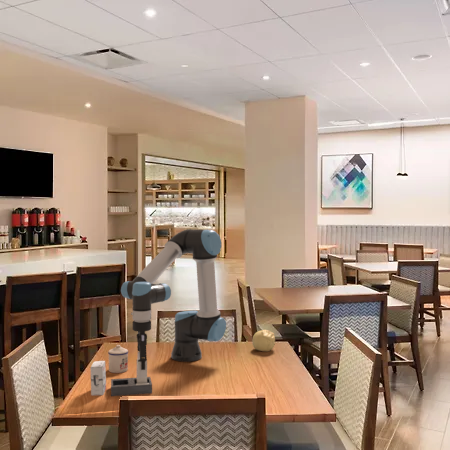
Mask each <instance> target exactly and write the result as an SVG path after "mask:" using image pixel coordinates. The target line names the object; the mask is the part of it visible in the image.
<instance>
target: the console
mask: <svg viewBox="0 0 450 450" xmlns="http://www.w3.org/2000/svg"><path fill="white" fill-rule="evenodd" d="M110 391H111V393H110V397H118V396H119V397H120V396H133V395H147V394H153V382H152V379H151V376H147V383H138V384H137V377H127V378H126V377H125V378H111V379H110Z"/></svg>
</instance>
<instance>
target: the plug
mask: <svg viewBox="0 0 450 450" xmlns="http://www.w3.org/2000/svg"><path fill="white" fill-rule="evenodd" d="M143 358H144V357H143ZM138 360H139V359H138V358H137V359H136V378H137V384H138V383H147V377H148V360H147V361H146V377H144V378H139V362H138Z"/></svg>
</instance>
